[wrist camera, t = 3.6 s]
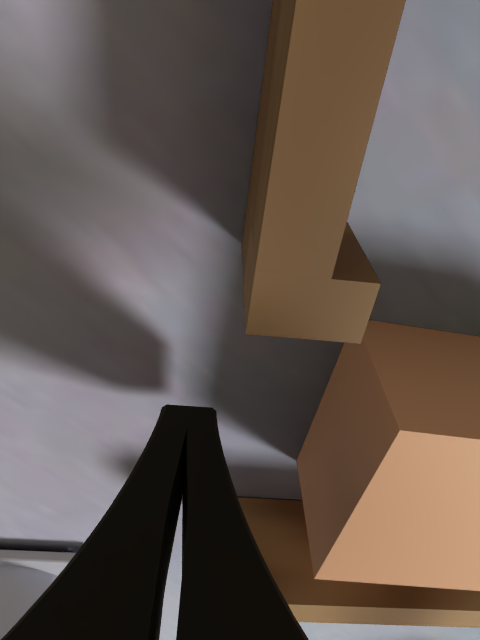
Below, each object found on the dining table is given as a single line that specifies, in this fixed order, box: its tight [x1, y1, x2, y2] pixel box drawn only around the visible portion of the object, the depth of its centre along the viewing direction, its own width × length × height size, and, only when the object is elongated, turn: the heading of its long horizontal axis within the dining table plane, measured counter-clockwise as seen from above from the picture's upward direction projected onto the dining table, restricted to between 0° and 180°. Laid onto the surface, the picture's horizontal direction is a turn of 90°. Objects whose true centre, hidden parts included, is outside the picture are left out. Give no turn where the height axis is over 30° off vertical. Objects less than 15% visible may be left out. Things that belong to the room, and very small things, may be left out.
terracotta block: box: [297, 320, 480, 591], centre depth 12 cm, size 6×6×4 cm
